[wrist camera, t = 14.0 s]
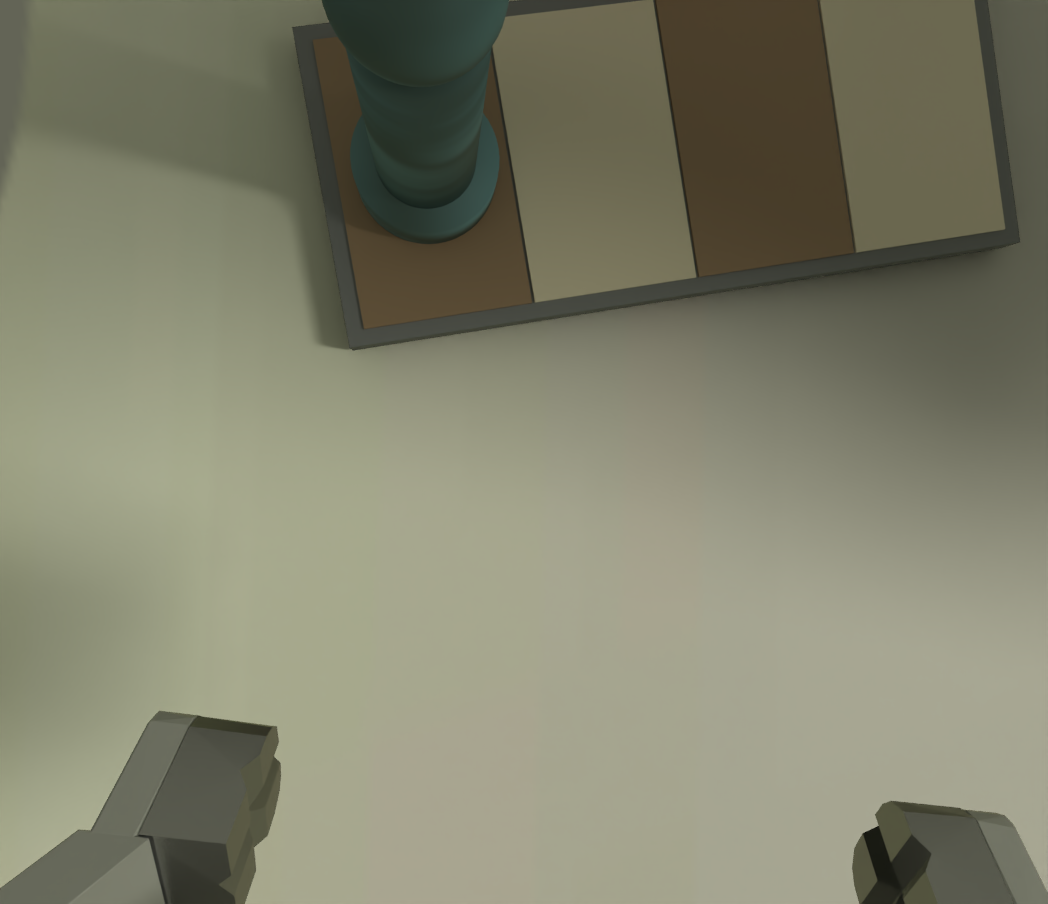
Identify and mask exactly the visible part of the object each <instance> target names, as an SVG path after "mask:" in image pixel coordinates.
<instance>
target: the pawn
mask: <svg viewBox="0 0 1048 904" xmlns="http://www.w3.org/2000/svg"><path fill="white" fill-rule="evenodd" d="M322 3H323V7H324V9H325V12H326V14H327V17H328V20H329V22H330V24H331V26H332V28H333V30H334V32H335V34H336V36H337V37H338V38H339V40H340V41H341V43H342V44H343V45H344V47H345V48H346V52H347V56H348V60H349V64H350V68H351V72H352V76H353V79H354V83H355V87H356V91H357V95H358V99H359V103H360V107H361V111H362V115H361V117H360V119H359V120H358V122H357V125H356V127H355V129H354V133H353V136H352V140H351V147H350V161H351V169H352V173H353V177H354V180H355V183H356V186H357V189H358V191H359V194H360V197H361V199H362V202H363V204H364V205H365V207H366V209H367V211H368V212H369V213H370V215H371V216H372V217H373V219H374V220H375V221H376V222H377V223H378V224H379V225H380V226H382V227H383V228H384V229H385V230H387V231H388V232H390V233H391V234H393V235H395V236H397V237H399V238H401V239H403V240H407V241H410V242H414V243H419V244H437V243H443V242H447V241H450V240H453V239H456V238H458V237H460V236H462V235H463V234H465V233H466V232H468V231H469V230H471V229H472V228H473V227H474V226H475V225H476V224H477V223H478V222H479V221H480V220H481V218H482V217H483V216H484V214H485V213H486V211H487V210H488V208H489V206H490V203H491V201H492V198H493V195H494V191H495V187H496V182H497V178H498V172H499V160H500V157H499V148H498V143H497V139H496V136H495V133H494V131H493V128H492V126H491V124H490V122H489V121H488V119H487V118H486V116H485V115H484V113H483V108H484V101H485V93H486V86H487V78H488V71H489V63H490V56H491V48H492V46H493V44H494V43H495V41H496V39H497V38H498V36H499V33H500V31H501V29H502V27H503V23H504V20H505V17H506V13H507V10H508V4H509V0H322Z"/></svg>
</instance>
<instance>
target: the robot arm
mask: <svg viewBox="0 0 1048 904" xmlns="http://www.w3.org/2000/svg"><path fill="white" fill-rule="evenodd" d="M278 743H279V739H278V731H277V726H270V725H262V724H254V723H247V722H239V721H232V720H224V719H217V718H209V717H202V716H198V715H190V714H182V713H173V712H165V711H159V712H158V713H157V714H156V715H155V716H154V717H153V718H152V719H151V720H150V721H149V722H148V724H147V726H146V728H145V730H144V731H143V733H142V735H141V737H140V739H139V741H138V743H137V745H136V746H135V748H134V750H133V752H132V754H131V756H130V758H129V760H128V761H127V763H126V765H125V767H124V769H123V771H122V773H121V775H120V777H119V778H118V780H117V782H116V784H115V786H114V788H113V790H112V792H111V793H110V795H109V797H108V799H107V801H106V803H105V805H104V807H103V808H102V810H101V812H100V814H99V816H98V818H97V820H96V822H95V823H94V825H93V827H92V829H91V831H90V830H77V831H76V832H75V833H73V834H72V835H71V836H69V837H68V838H67V839H65V840H64V841H63V842H61V843H60V844H59V845H57V846H56V847H55V848H53V849H52V850H51V851H49V852H48V853H47V854H45V855H44V856H43V857H41V858H40V859H39V860H37V861H36V862H35V863H33V864H32V865H31V866H29V867H28V868H27V869H25V870H24V871H23V872H21V873H20V874H19V875H17V876H16V877H15V878H13V879H12V880H11V881H9V882H8V883H7V884H5V885H4V886H3V887H1V888H0V904H245V901H246V899H247V896H248V893H249V890H250V887H251V884H252V881H253V878H254V875H255V872H256V863H255V853H254V847H255V846H256V845H257V844H259V843H260V842H261V841H262V840H263V839H264V838H265V837H267V836H268V833H269V830H270V827H271V823H272V820H273V817H274V814H275V810H276V805H277V800H278V796H279V791H280V781H281V764H280V762H279V761H278V760H277V759H276V758H275V757H274V754H275V752H276V749H277V746H278ZM875 816H876V819H877V822H878V825H879V826H877V827H875V828H873V829H871V830H869V831H867V832H865V833H863V834H862V836H861V837H860V839H859V841H858V843H857V844H856V846H855V848H854V856H853V865H852V871H853V879H854V886H855V890H856V894H857V897H858V901H859V904H1048V892H1047V890H1046V888H1045V886H1044V884H1043V882H1042V880H1041V878H1040V876H1039V874H1038V872H1037V870H1036V868H1035V866H1034V864H1033V862H1032V860H1031V858H1030V856H1029V854H1028V852H1027V850H1026V848H1025V846H1024V844H1023V842H1022V840H1021V838H1020V836H1019V834H1018V832H1017V830H1016V828H1015V826H1014V825H1013V823H1012V822H1011V821H1010V820H1009V819H1008V818H1007V817H1006V816H1005V815H1001V814H998V813H992V812H983V811H973V810H964V809H961V808H956V807H946V806H937V805H927V804H917V803H908V802H898V801H889V802H887V803H884V804H882V805H881V807H880V808H879V810H878V811H877V813H876V814H875Z"/></svg>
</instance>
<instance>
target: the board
mask: <svg viewBox="0 0 1048 904" xmlns="http://www.w3.org/2000/svg"><path fill="white" fill-rule="evenodd" d="M292 28H293V34H294V39H295V45H296V50H297V56H298V62H299V67H300V73H301V78H302V84H303V89H304V95H305V101H306V106H307V112H308V117H309V123H310V129H311V134H312V140H313V145H314V151H315V157H316V162H317V168H318V173H319V179H320V185H321V190H322V196H323V201H324V207H325V212H326V218H327V224H328V229H329V235H330V240H331V246H332V252H333V257H334V263H335V268H336V274H337V280H338V285H339V291H340V296H341V302H342V307H343V313H344V319H345V324H346V330H347V335H348V341H349V347H350V348H351V349H352V350H358V349H365V348H371V347H377V346H384V345H390V344H396V343H403V342H409V341H415V340H422V339H428V338H434V337H441V336H447V335H453V334H460V333H466V332H472V331H479V330H485V329H491V328H498V327H504V326H510V325H517V324H523V323H529V322H536V321H542V320H548V319H555V318H561V317H567V316H574V315H580V314H586V313H593V312H599V311H605V310H612V309H618V308H624V307H631V306H637V305H643V304H650V303H656V302H663V301H669V300H675V299H682V298H688V297H694V296H701V295H707V294H713V293H720V292H726V291H732V290H739V289H745V288H751V287H758V286H764V285H770V284H777V283H783V282H789V281H796V280H802V279H808V278H815V277H821V276H827V275H834V274H840V273H846V272H853V271H859V270H865V269H872V268H878V267H884V266H891V265H897V264H903V263H910V262H916V261H922V260H929V259H935V258H941V257H948V256H954V255H960V254H967V253H973V252H979V251H986V250H992V249H998V248H1003V247H1006V246H1009V245H1013V244H1016V243H1019V242H1020V238H1019V231H1018V223H1017V216H1016V209H1015V201H1014V194H1013V186H1012V179H1011V172H1010V164H1009V157H1008V149H1007V142H1006V135H1005V127H1004V120H1003V112H1002V105H1001V98H1000V90H999V83H998V75H997V68H996V61H995V53H994V46H993V39H992V31H991V24H990V16H989V9H988V2H987V0H519V1H511V2H509V4H508V10H507V13H506V17H505V20H504V23H503V27H502V29H501V31H500V33H499V36H498V38H497V39H496V41H495V43H494V44H493V46H492V48H491V56H490V63H489V71H488V78H487V86H486V93H485V101H484V108H483V113H484V115H485V116H486V118H487V119H488V121H489V122H490V124H491V126H492V128H493V131H494V133H495V136H496V139H497V143H498V148H499V157H500V160H499V172H498V178H497V182H496V187H495V191H494V195H493V198H492V201H491V203H490V206H489V208H488V210H487V211H486V213H485V214H484V216H483V217H482V218H481V220H480V221H479V222H478V223H477V224H476V225H475V226H474V227H473V228H472V229H471V230H469V231H468V232H466V233H465V234H463V235H462V236H460V237H458V238H456V239H453V240H450V241H447V242H443V243H437V244H419V243H414V242H410V241H407V240H403V239H401V238H399V237H397V236H395V235H393V234H391V233H390V232H388V231H387V230H385V229H384V228H383V227H382V226H380V225H379V224H378V223H377V222H376V221H375V220H374V219H373V217H372V216H371V215H370V213H369V212H368V211H367V209H366V207H365V205H364V204H363V202H362V199H361V197H360V194H359V191H358V189H357V186H356V183H355V180H354V177H353V173H352V169H351V161H350V147H351V140H352V136H353V133H354V129H355V127H356V125H357V122H358V120H359V119H360V117H361V115H362V111H361V107H360V103H359V99H358V95H357V91H356V87H355V83H354V79H353V76H352V72H351V68H350V64H349V60H348V56H347V52H346V48H345V47H344V45H343V44H342V43H341V41H340V40H339V38H338V37H337V36H336V34H335V32H334V30H333V28H332V26H331V24H330V23H323V24H315V25H306V26H298V27H292Z"/></svg>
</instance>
